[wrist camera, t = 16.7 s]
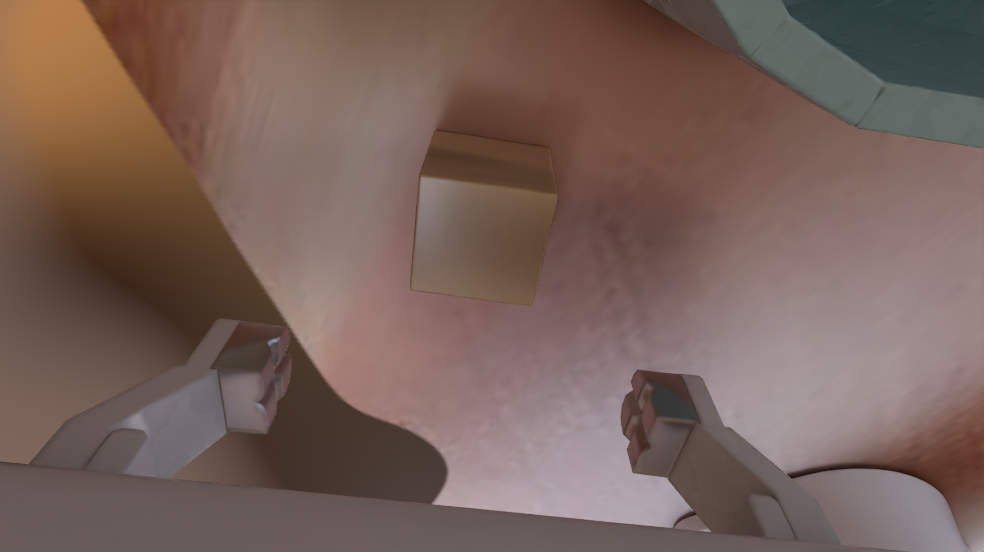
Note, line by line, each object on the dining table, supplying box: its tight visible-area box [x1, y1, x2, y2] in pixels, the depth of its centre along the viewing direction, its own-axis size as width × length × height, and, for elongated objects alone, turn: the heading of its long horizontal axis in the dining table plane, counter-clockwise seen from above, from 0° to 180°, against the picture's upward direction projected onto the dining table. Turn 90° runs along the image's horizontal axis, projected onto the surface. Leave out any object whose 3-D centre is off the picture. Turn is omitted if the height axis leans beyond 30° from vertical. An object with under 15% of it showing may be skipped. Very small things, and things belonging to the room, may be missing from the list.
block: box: [410, 131, 558, 306], centre depth 21 cm, size 4×4×4 cm
